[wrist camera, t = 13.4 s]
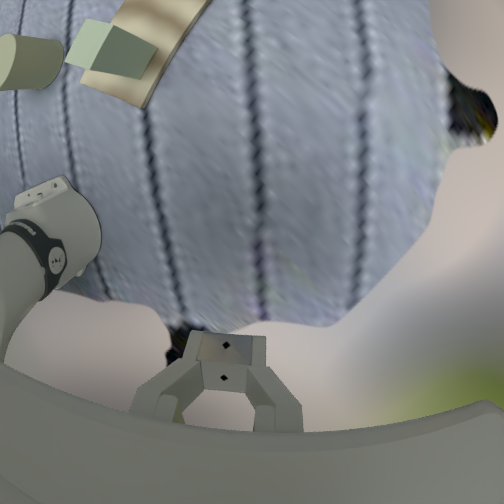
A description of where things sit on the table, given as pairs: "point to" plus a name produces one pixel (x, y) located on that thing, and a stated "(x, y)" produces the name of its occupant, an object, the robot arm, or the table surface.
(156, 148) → the table surface
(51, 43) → the can
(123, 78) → the wooden board
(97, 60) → the sage key
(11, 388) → the robot arm
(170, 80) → the table surface
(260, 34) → the table surface
